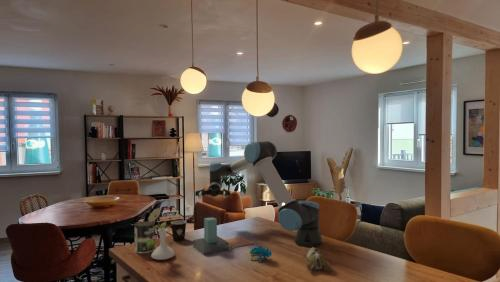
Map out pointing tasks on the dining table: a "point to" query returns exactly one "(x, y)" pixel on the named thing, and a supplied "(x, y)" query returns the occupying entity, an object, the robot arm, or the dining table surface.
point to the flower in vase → (163, 249)
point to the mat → (238, 242)
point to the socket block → (210, 246)
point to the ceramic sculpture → (316, 260)
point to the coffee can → (144, 237)
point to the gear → (260, 252)
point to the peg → (210, 230)
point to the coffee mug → (178, 230)
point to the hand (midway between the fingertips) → (211, 196)
